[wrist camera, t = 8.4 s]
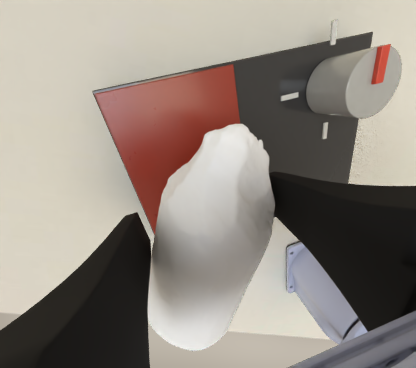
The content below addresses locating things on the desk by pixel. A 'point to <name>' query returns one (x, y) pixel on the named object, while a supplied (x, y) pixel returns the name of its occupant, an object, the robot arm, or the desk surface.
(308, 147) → the hob
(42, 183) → the desk surface
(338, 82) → the hob knob
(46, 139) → the desk surface
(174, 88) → the plate
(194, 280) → the white bottle
